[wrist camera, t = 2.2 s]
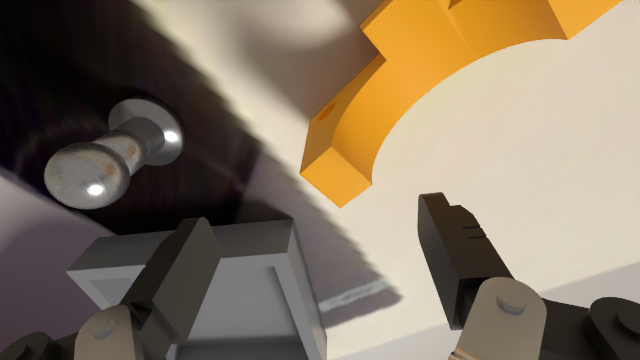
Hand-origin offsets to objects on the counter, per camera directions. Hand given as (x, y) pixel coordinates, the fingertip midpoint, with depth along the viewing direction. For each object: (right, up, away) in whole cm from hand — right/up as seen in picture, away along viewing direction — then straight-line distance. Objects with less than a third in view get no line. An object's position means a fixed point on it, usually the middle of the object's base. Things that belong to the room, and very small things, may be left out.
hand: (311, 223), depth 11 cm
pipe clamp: (+4, +9, +5) cm, 11 cm away
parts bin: (-9, -9, +17) cm, 21 cm away
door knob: (-10, +5, +8) cm, 14 cm away
